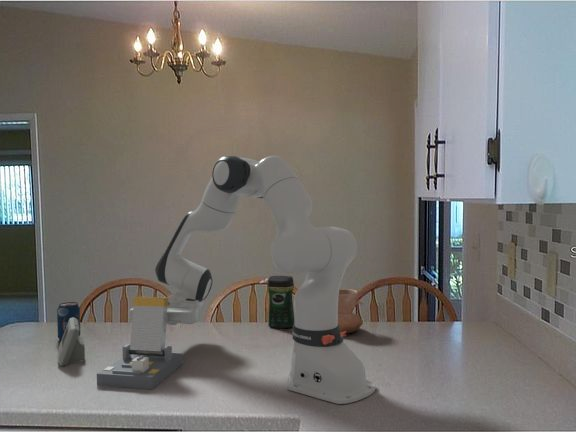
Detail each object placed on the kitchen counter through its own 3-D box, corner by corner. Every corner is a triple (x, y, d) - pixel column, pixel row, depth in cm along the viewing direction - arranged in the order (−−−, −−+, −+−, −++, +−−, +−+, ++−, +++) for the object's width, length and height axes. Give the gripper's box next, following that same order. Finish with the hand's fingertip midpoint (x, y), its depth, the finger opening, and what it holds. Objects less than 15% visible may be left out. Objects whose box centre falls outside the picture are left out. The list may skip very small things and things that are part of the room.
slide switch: (137, 368, 120) (137, 354, 120) (148, 368, 119) (148, 355, 119) (132, 372, 117) (131, 358, 117) (143, 373, 116) (142, 359, 116)
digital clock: (59, 351, 144) (58, 317, 144) (91, 348, 147) (90, 315, 146) (46, 369, 129) (45, 331, 128) (81, 366, 131) (81, 328, 131)
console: (133, 361, 134) (133, 338, 134) (182, 363, 132) (181, 341, 131) (96, 385, 117) (96, 359, 116) (152, 389, 114) (152, 363, 114)
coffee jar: (296, 324, 173) (296, 274, 173) (291, 329, 166) (290, 277, 165) (271, 322, 176) (271, 273, 175) (265, 328, 168) (264, 277, 168)
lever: (132, 353, 129) (136, 296, 131) (166, 355, 127) (170, 297, 130) (127, 355, 126) (132, 296, 129) (162, 356, 125) (166, 297, 127)
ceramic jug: (367, 327, 167) (366, 288, 167) (361, 338, 154) (360, 295, 154) (319, 325, 173) (318, 286, 173) (308, 335, 159) (307, 293, 159)
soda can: (65, 343, 152) (65, 307, 152) (53, 340, 156) (52, 304, 155) (84, 338, 158) (84, 302, 158) (72, 335, 162) (71, 300, 161)
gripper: (142, 298, 145) (117, 308, 132) (204, 300, 141) (185, 311, 127) (142, 318, 145) (117, 330, 132) (204, 321, 141) (185, 333, 128)
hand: (151, 320), depth 130 cm, fingers closed, pressing on lever
